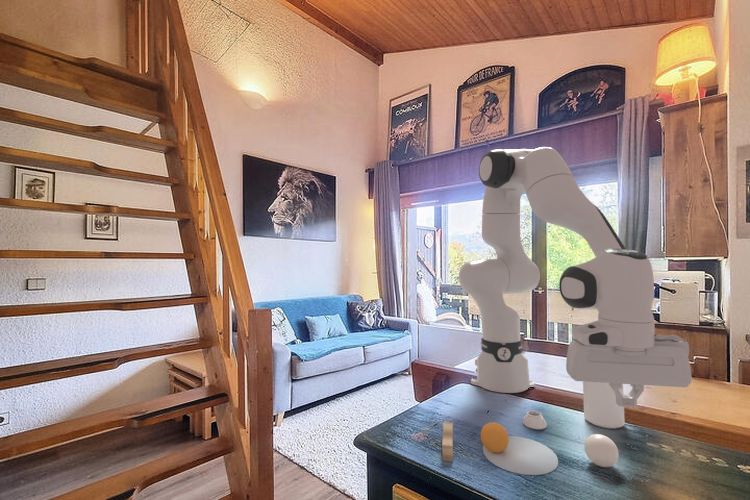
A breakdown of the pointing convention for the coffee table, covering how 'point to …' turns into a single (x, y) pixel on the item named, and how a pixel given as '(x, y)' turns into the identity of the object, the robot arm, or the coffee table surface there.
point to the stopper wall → (447, 442)
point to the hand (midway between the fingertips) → (626, 405)
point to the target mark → (524, 457)
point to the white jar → (534, 420)
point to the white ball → (601, 450)
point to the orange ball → (494, 437)
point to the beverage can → (602, 405)
